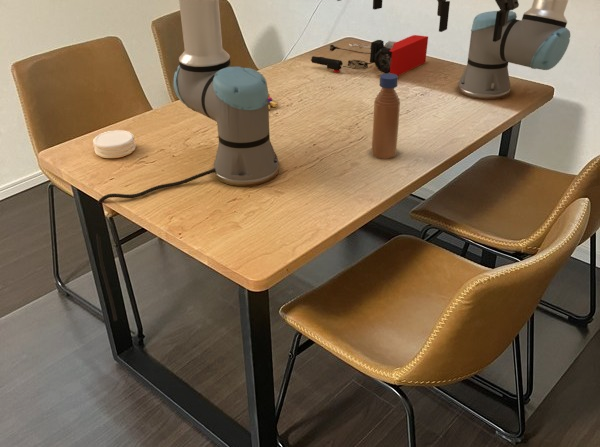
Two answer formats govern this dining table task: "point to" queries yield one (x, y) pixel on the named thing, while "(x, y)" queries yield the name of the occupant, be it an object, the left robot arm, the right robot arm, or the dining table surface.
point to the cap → (388, 80)
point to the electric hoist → (385, 55)
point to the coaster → (114, 144)
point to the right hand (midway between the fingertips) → (469, 35)
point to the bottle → (385, 124)
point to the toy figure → (271, 102)
